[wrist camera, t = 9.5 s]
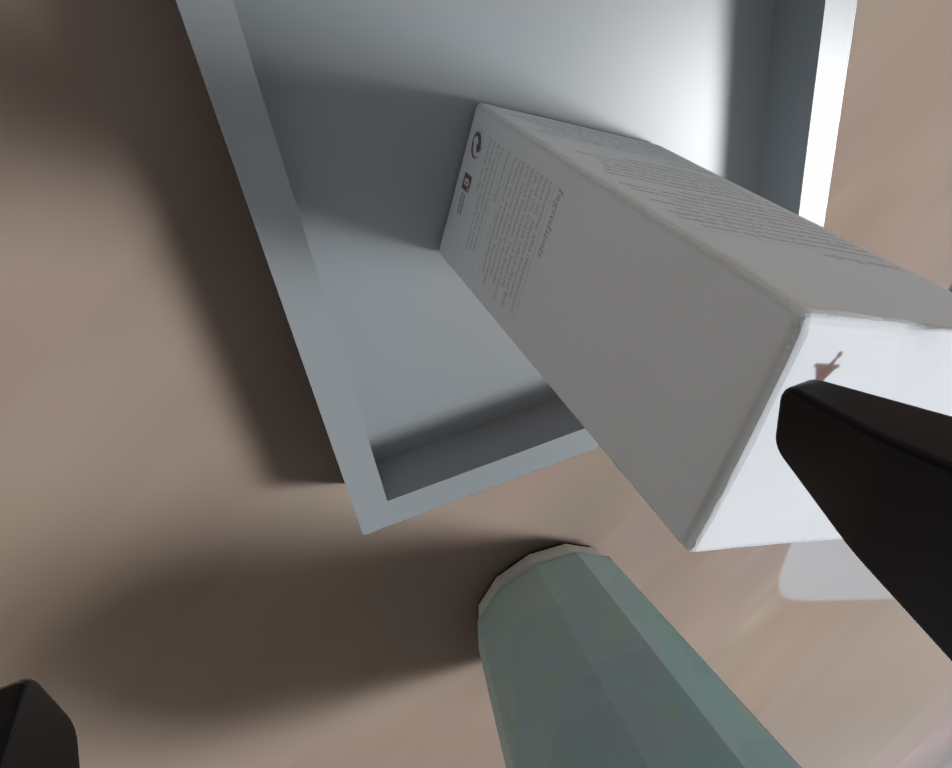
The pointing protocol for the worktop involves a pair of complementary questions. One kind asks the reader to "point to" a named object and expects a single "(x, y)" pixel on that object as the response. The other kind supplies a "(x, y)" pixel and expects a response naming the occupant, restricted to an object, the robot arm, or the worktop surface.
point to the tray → (435, 177)
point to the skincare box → (683, 315)
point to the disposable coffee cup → (604, 675)
